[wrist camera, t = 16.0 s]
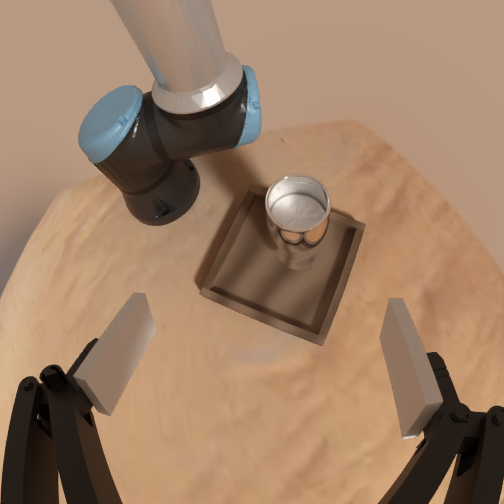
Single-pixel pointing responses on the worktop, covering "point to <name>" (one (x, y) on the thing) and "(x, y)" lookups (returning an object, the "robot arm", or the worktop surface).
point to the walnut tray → (282, 273)
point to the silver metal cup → (297, 218)
